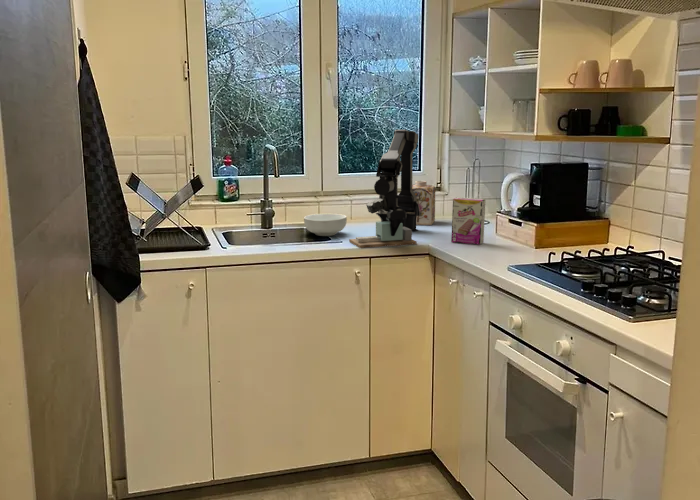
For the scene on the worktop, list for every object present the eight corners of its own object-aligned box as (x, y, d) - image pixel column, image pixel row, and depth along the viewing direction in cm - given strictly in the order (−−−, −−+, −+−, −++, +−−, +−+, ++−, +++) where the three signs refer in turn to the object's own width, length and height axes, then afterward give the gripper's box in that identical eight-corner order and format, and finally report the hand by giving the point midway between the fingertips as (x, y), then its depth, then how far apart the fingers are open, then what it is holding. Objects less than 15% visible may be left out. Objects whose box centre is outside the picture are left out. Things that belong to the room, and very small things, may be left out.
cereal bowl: (313, 229, 292) (313, 212, 290) (352, 231, 287) (352, 214, 285) (297, 236, 276) (297, 218, 275) (337, 239, 271) (337, 220, 269)
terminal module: (395, 236, 268) (396, 220, 267) (402, 239, 262) (402, 223, 261) (375, 237, 266) (375, 221, 265) (381, 240, 260) (382, 224, 259)
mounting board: (404, 238, 273) (404, 235, 272) (416, 244, 261) (416, 241, 261) (349, 241, 266) (349, 239, 266) (359, 248, 255) (359, 245, 254)
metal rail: (406, 238, 268) (406, 234, 268) (409, 239, 265) (409, 235, 265) (355, 241, 262) (355, 237, 261) (358, 242, 259) (358, 238, 259)
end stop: (404, 237, 270) (404, 226, 269) (411, 240, 263) (411, 229, 262) (398, 237, 269) (398, 227, 268) (405, 240, 262) (405, 230, 262)
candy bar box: (450, 242, 264) (452, 198, 261) (454, 240, 269) (456, 196, 266) (480, 245, 260) (482, 200, 256) (484, 242, 264) (485, 198, 261)
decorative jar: (435, 221, 312) (436, 180, 308) (432, 225, 301) (433, 182, 297) (408, 220, 314) (408, 179, 311) (404, 224, 303) (404, 182, 300)
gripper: (360, 189, 267) (360, 231, 270) (377, 196, 249) (377, 240, 253) (388, 188, 270) (387, 229, 273) (407, 194, 253) (406, 238, 256)
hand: (389, 234), depth 264 cm, fingers open, 7 cm apart
